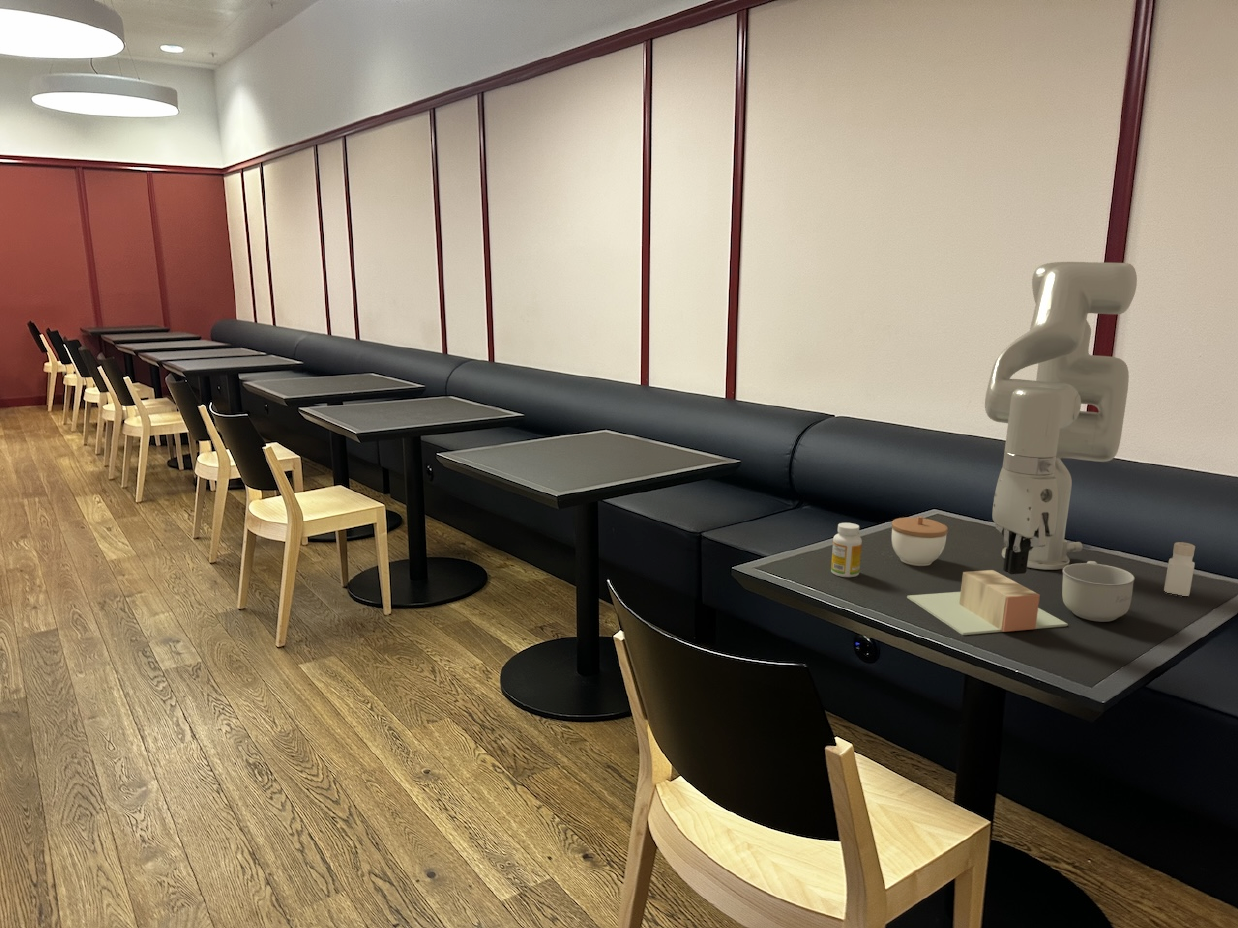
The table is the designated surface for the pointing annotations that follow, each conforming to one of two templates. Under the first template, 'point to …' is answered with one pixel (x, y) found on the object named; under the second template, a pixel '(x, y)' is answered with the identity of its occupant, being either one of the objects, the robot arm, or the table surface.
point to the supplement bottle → (846, 551)
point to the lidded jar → (918, 540)
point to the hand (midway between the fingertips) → (1014, 571)
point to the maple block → (999, 600)
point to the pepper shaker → (1180, 569)
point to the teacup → (1097, 591)
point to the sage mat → (969, 614)
